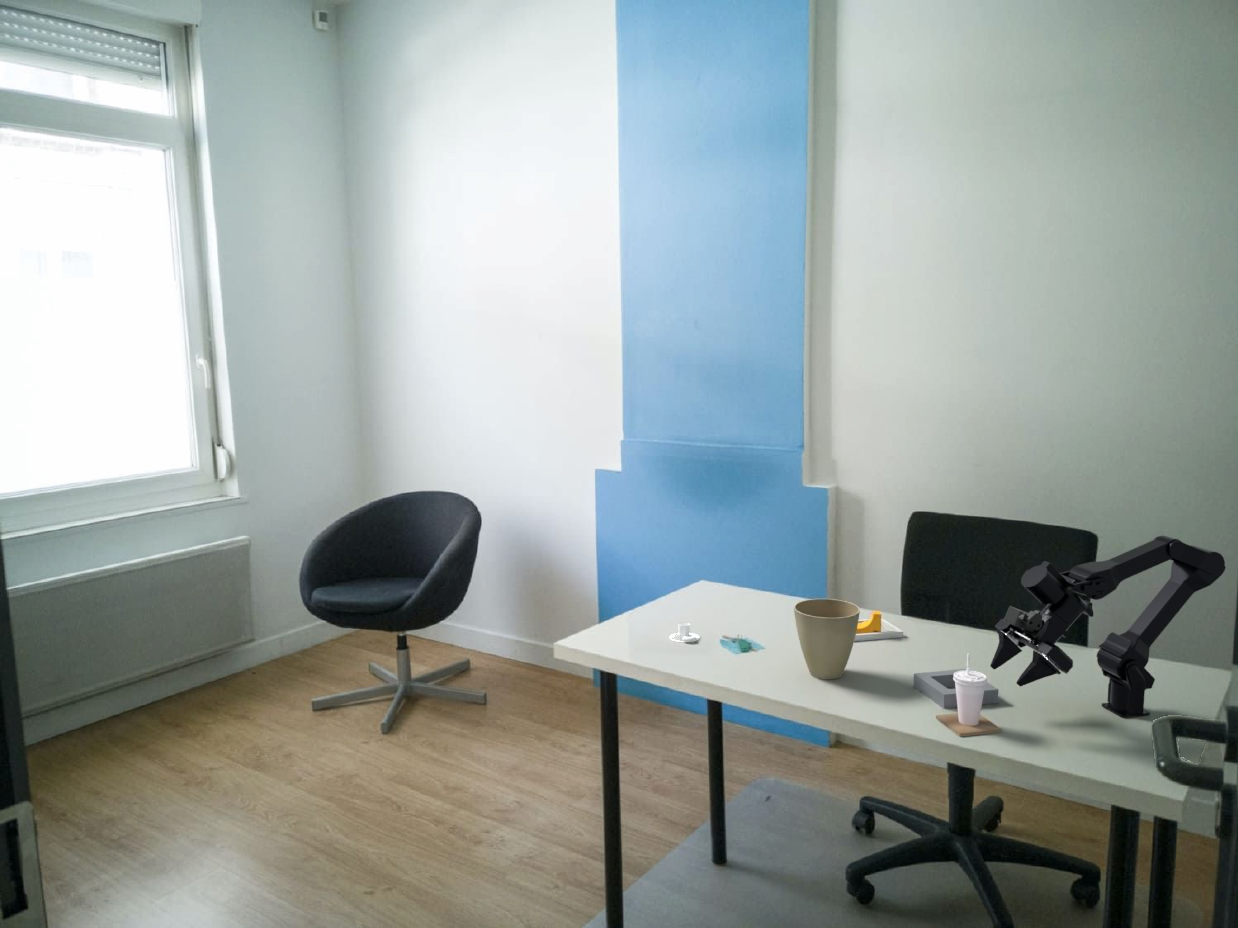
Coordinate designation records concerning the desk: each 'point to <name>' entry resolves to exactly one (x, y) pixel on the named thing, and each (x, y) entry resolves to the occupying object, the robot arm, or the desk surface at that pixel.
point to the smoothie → (969, 694)
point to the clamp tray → (892, 632)
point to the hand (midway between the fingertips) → (1004, 676)
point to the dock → (938, 683)
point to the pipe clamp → (870, 624)
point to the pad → (965, 730)
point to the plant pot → (826, 634)
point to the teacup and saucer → (685, 633)
